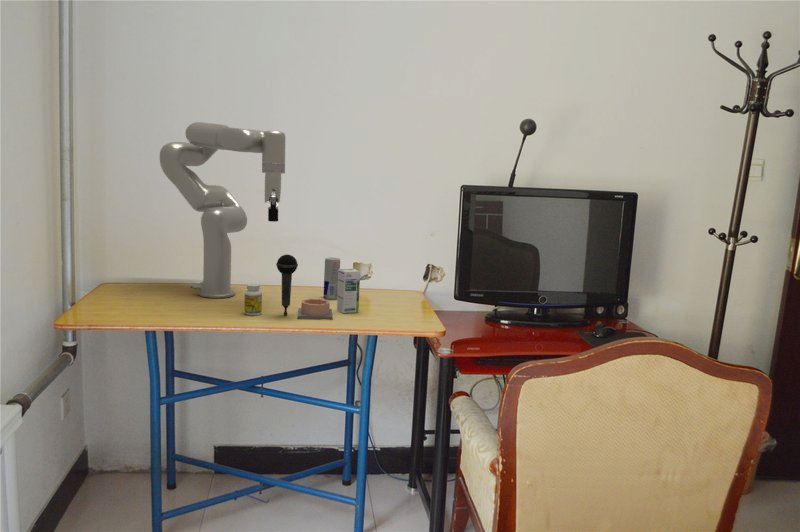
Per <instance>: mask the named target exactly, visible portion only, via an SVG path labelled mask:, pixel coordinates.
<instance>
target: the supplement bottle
mask: <svg viewBox="0 0 800 532" xmlns="http://www.w3.org/2000/svg"><path fill="white" fill-rule="evenodd" d="M260 287H261V285H260V284H258V283H248V284H246V289H247V290H245V292H244V314H245V315H246V316H259V315H262V310H263V309H262V304H263V303H262V301H263V300H262V299H263V298H262V295H263V294H262V291H261V290H260V289H261V288H260Z"/></svg>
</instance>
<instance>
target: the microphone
mask: <svg viewBox="0 0 800 532" xmlns="http://www.w3.org/2000/svg"><path fill="white" fill-rule="evenodd" d="M275 265H276V268H277V270H278V272H279V273H280V274H281V306H282V308H284V311H283V315H284V316H286V317H287V315H288V311H287V310H288V308H289V307H290V306H291V294H292V278H293V277H292V276H293V274H294V273H295V272H296V271H297V270H298V269H297V268H298V266H299V263H298V261H297V258H296V257H294V256H293V255H291V254H283V255H281V256H280V257H279V258H278V259H277V262H276V264H275Z"/></svg>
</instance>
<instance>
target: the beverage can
mask: <svg viewBox="0 0 800 532" xmlns="http://www.w3.org/2000/svg"><path fill="white" fill-rule="evenodd" d="M338 269H341V258H339V257H332V256H331V257H326V258H324V272H323V274H324V276H323V277H324V279H323V296H322V297H323V298H324V299H325V300H326V299H327V300H337V296H338Z"/></svg>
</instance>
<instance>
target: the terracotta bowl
mask: <svg viewBox="0 0 800 532" xmlns="http://www.w3.org/2000/svg"><path fill="white" fill-rule="evenodd" d="M300 305H301V306H300V307H298V309H297V310H298V312H297V320H320V319H330V320H329V321H332V320H333V309H332V308H330V307H331V306H330V300H328V299H327V300H326V299H322V298H306V299H301V304H300ZM331 319H332V320H331Z"/></svg>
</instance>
